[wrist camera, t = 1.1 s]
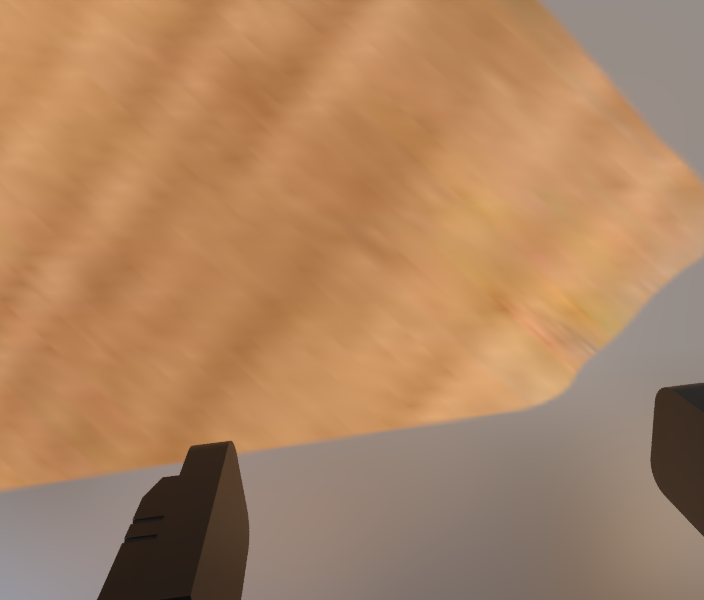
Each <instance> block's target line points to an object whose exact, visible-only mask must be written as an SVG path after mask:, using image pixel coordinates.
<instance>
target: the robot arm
mask: <svg viewBox="0 0 704 600" xmlns="http://www.w3.org/2000/svg"><path fill="white" fill-rule="evenodd" d="M651 468H652V473H653V476H654V479H655V481H656V483H657V485H658V487H659V489H660V490H661V491H662V492H663V494H664V495H665V496H666V497H667V498H668V499H669V500H670V502H671V503H672V504H673V505H674V506H675V507H676V508H677V509H678V510H679V511H680V512H681V513H682V514H683V515H684V516H685V517H686V518H687V520H688V521H689V522H690V523H691V524H692V525H693V526H694V527H695V528H696V529H697V530H698V531H699V532H700V533H701V534H702V535H703V536H704V383H697V384H688V385H680V386H672V387H664V388H661V389H660V390H659V391H658V393H657V395H656V398H655V408H654V420H653V433H652V447H651ZM248 548H249V520H248V512H247V506H246V501H245V496H244V490H243V485H242V480H241V475H240V469H239V464H238V458H237V453H236V449H235V446H234V443H233V442H232V441H226V442H218V443H210V444H202V445H194V446H191V447H190V448H189V451H188V453H187V456H186V459H185V461H184V464H183V467H182V470H181V472H180V475H179V476H171V477H163V478H162V479H161V480H160V481H159V482H158V483H157V484H156V485H155V486H154V487H153V488H152V489H151V490H150V491H149V492H148V493H147V494H146V495H145V496H144V497H143V498H142V500H141V502H140V505H139V507H138V509H137V511H136V513H135V516H134V518H133V524H131V525H130V527H129V529H128V531H127V534H126V536H125V542H124V543H122V545H121V547H120V550H119V552H118V554H117V556H116V558H115V561H114V563H113V565H112V567H111V570H110V572H109V574H108V577H107V579H106V581H105V583H104V585H103V588H102V590H101V592H100V594H99V597H98V599H97V600H241V597H242V590H243V583H244V576H245V569H246V562H247V555H248Z"/></svg>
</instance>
